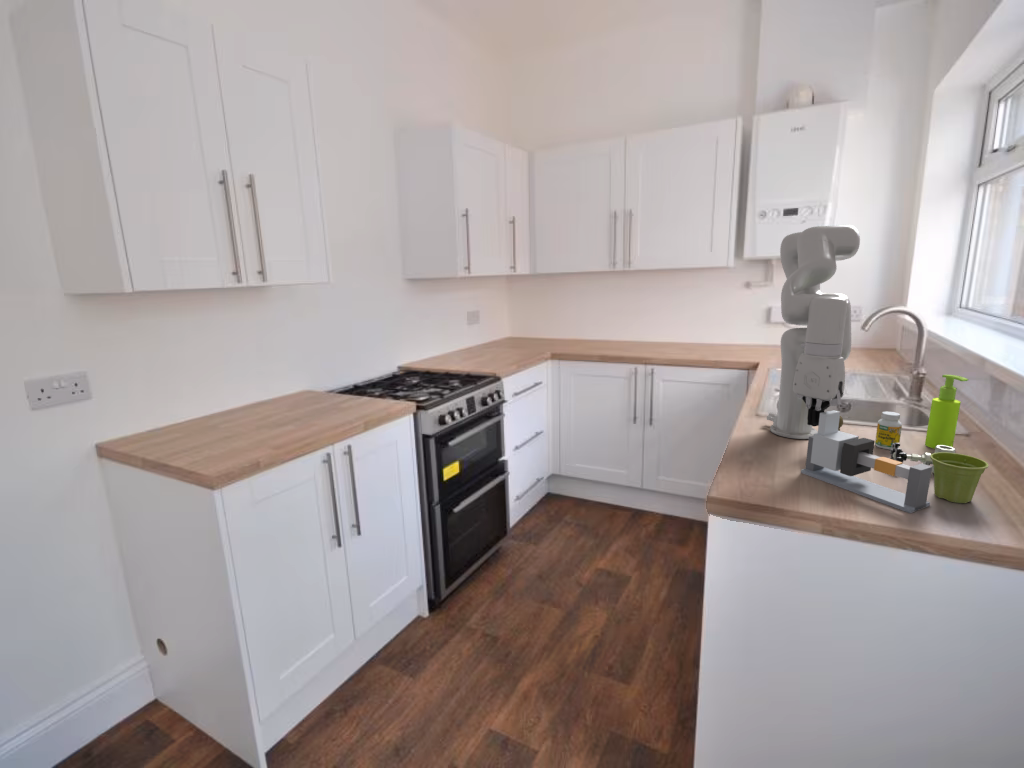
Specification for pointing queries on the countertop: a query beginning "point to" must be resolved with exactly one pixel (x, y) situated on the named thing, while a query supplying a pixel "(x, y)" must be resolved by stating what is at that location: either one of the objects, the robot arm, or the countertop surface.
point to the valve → (925, 458)
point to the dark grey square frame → (855, 456)
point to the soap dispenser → (944, 415)
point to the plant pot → (956, 476)
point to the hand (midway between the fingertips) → (814, 424)
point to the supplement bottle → (888, 430)
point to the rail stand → (906, 502)
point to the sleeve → (829, 441)
